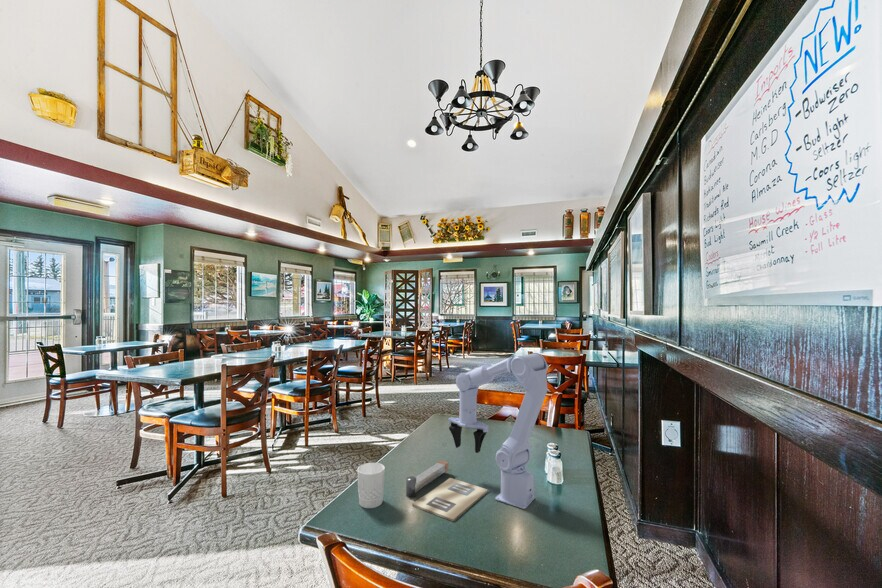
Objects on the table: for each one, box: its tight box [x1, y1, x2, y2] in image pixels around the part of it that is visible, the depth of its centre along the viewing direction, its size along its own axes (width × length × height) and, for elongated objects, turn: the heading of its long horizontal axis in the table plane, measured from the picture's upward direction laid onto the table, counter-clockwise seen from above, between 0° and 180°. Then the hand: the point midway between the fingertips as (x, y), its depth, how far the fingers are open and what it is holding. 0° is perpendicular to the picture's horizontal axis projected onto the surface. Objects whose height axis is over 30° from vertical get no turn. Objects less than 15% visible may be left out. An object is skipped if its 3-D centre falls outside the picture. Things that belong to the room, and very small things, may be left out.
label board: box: [411, 477, 489, 522], centre depth 117 cm, size 14×20×1 cm
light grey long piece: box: [405, 459, 450, 498], centre depth 126 cm, size 20×3×5 cm, turn 147°
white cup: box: [357, 462, 386, 509], centre depth 115 cm, size 8×8×10 cm
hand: (467, 449), depth 131 cm, fingers open, 7 cm apart
